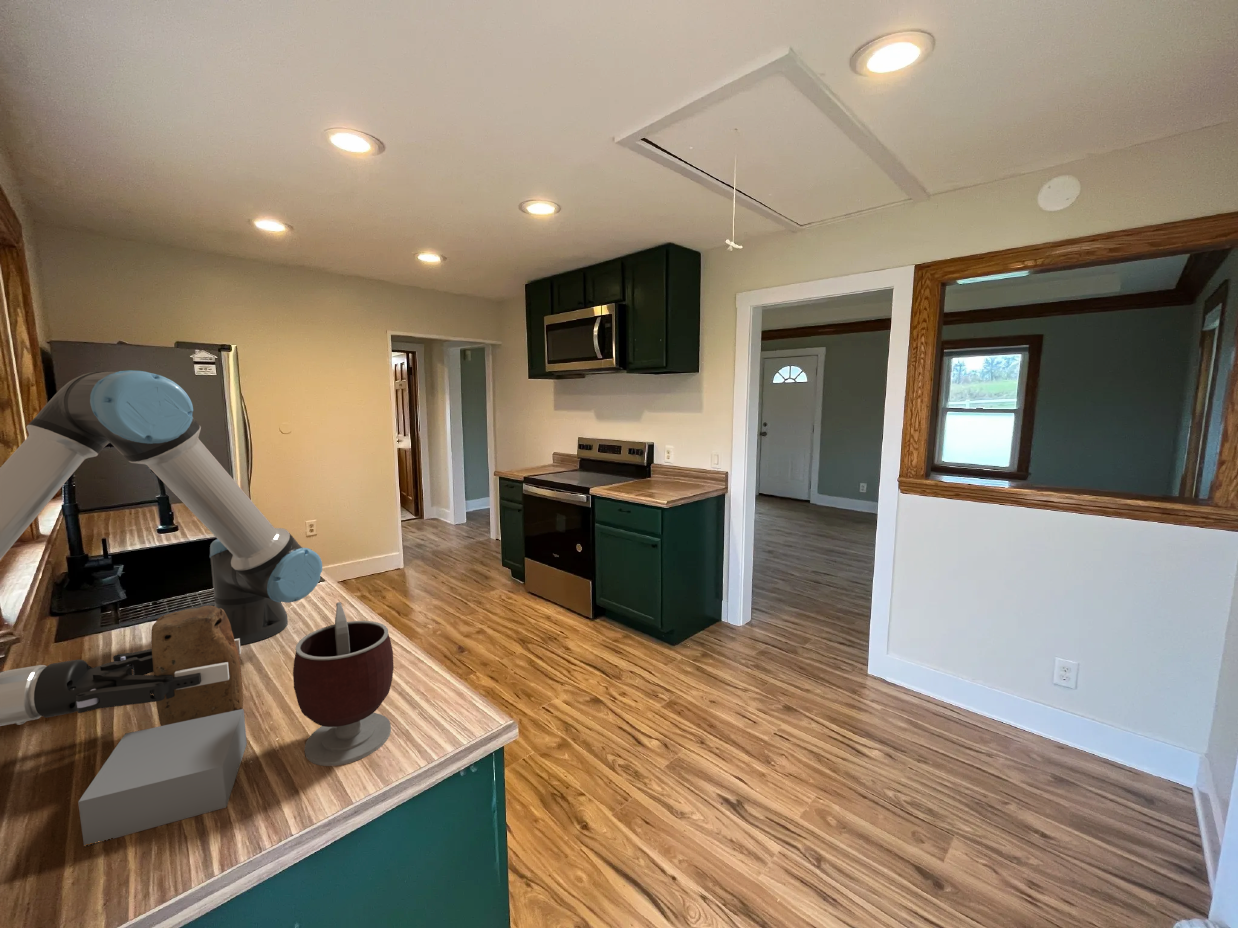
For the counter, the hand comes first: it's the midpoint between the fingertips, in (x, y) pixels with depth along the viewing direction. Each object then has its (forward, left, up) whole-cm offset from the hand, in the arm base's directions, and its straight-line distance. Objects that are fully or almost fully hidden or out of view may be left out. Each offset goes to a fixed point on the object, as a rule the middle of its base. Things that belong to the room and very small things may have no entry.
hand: (234, 658), depth 86 cm
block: (0, -5, -11) cm, 12 cm away
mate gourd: (+13, +17, -11) cm, 24 cm away
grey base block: (+15, -5, -11) cm, 19 cm away
